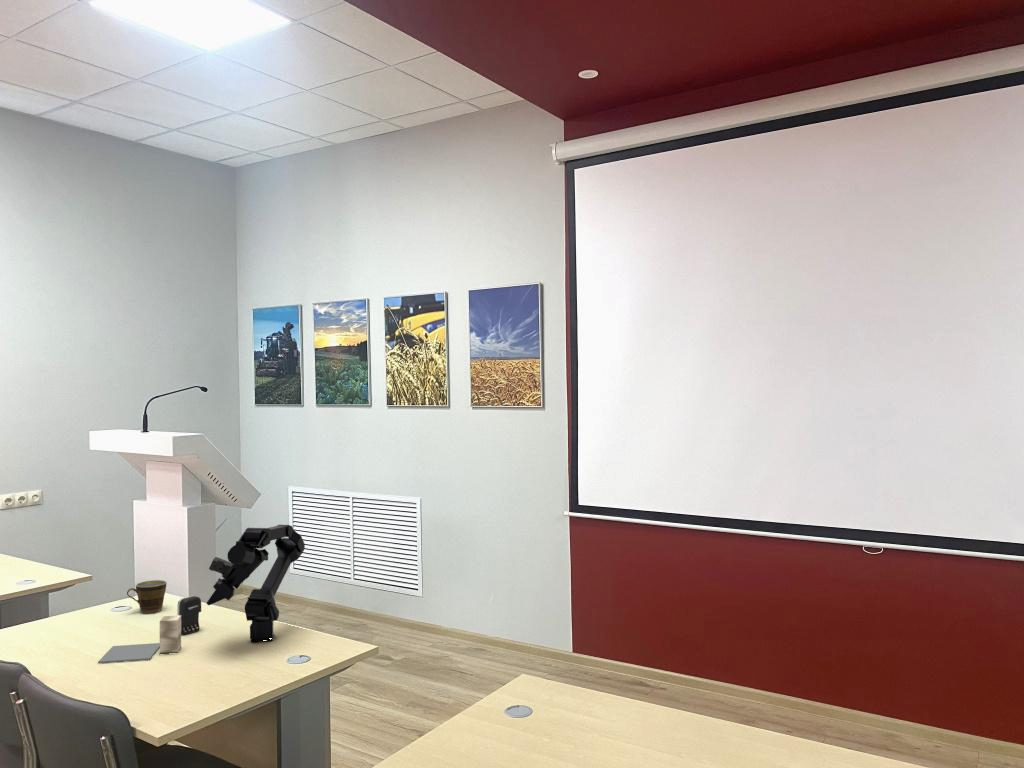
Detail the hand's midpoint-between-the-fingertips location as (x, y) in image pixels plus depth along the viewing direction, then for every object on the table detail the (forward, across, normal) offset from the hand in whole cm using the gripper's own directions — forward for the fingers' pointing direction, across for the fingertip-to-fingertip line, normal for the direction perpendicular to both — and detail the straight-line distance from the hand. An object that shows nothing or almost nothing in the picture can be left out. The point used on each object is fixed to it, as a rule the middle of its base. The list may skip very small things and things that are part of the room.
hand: (207, 604), depth 232 cm
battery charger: (+16, -18, +4) cm, 24 cm away
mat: (+25, 0, -6) cm, 25 cm away
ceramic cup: (+30, -46, -10) cm, 56 cm away
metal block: (+17, 0, +2) cm, 17 cm away
